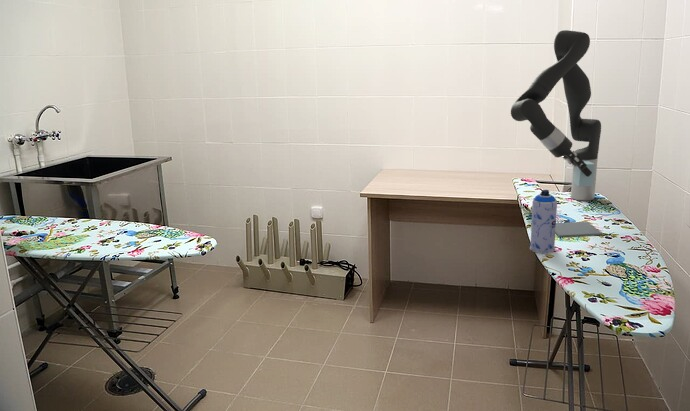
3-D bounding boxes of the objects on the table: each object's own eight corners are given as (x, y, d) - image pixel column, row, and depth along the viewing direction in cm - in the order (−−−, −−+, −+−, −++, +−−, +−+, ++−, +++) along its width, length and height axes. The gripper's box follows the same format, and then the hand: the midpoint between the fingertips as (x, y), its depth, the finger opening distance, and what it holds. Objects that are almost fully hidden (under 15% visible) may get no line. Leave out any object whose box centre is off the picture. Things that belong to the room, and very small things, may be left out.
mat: (546, 225, 210) (546, 223, 210) (587, 223, 210) (587, 221, 210) (559, 237, 197) (559, 235, 197) (602, 234, 197) (602, 233, 197)
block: (573, 182, 211) (575, 161, 208) (587, 182, 210) (588, 161, 208) (579, 186, 206) (580, 164, 204) (592, 185, 206) (594, 164, 203)
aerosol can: (551, 255, 182) (555, 194, 176) (526, 251, 186) (529, 192, 181) (557, 247, 188) (560, 188, 183) (533, 243, 193) (535, 186, 187)
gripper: (571, 137, 196) (603, 170, 199) (556, 130, 210) (586, 161, 213) (554, 152, 198) (586, 185, 201) (540, 145, 211) (571, 176, 215)
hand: (586, 173), depth 207 cm, fingers closed on block, 5 cm apart
